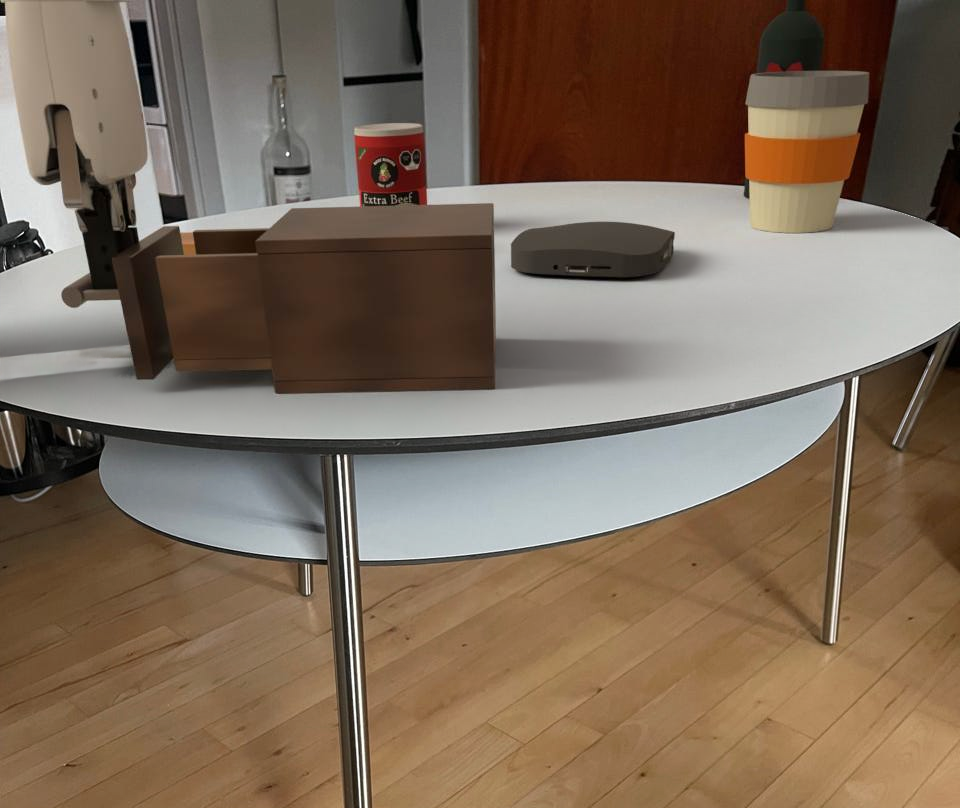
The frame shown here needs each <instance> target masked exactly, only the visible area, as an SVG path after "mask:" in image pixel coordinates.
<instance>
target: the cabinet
mask: <svg viewBox="0 0 960 808" xmlns="http://www.w3.org/2000/svg"><path fill="white" fill-rule="evenodd" d="M268 228H269V229H268V230H267V231H266V232H265V233H264V234H263V235H261V236H260V237H259V238H258V239H257V240H256V241H255V245H256V252H257V260H258V267H259V275H260V282H261V290H262V297H263V305H264V312H265V320H266V327H267V335H268V342H269V350H270V357H271V365H272V370H271V371H272V372H271V373H272V378H273V379H272V381H273V386H274V393H275V394H300V393H301V394H303V393H304V394H306V393H307V394H309V393H350V392H351V393H352V392H353V393H354V392H355V393H357V392H359V393H360V392H405V391H455V390H456V391H458V390H460V391H461V390H462V391H463V390H494V389H496V363H497V362H496V361H497V360H496V358H497V357H496V356H497V355H496V354H497V315H496V314H497V312H496V309H497V308H496V259H495V254H496V253H495V251H496V250H495V204H494V203H493V202H485V203H483V202H482V203H481V202H480V203H446V204H445V203H444V204H443V203H441V204H427V205H402V206H363V207H360V206H333V207H332V206H331V207H328V206H326V207H291V208H290V209H289V210H288V211H287V212H286V213H284V214H283V215H282V217H280V218H279V219H278V220H277V221H276V222H275V223H274V224H272V226H270V227H268Z"/></svg>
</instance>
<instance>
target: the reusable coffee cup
mask: <svg viewBox="0 0 960 808" xmlns="http://www.w3.org/2000/svg"><path fill="white" fill-rule="evenodd" d="M747 87H748V88H747V93H746V97H745V103H744V104H745V105H746V106H747V117H748V120H747V121H748V126H747V127H748V132H746V133H744V169H745V172H744V175H745V176H744V177H745V178H747V179H749V193H750V198H749V226H750V227H751V228H753V229H754V230H758V231H763V232H769V233H770V232H771V233H784V234H804V233H816V232H825V231H827V230H830V229H832V227H833V225H834V221H835V217H836V213H837V209H838V205H839V202H840V197H841V194H842V190H843V187H844V184H845V180H849V178H850V175H851V172H852V167H853V164H854V160H855V157H856V153H857V149H858V146H859V141H860V137H861V133H860V132H858V130H859V128H860V127H859V126H860V123H861V119H862V115H863V111H864V107H865V105H867V104H868V103H869V89H870V72H868V71H858V70H857V71H856V70H821V71H789V72H769V73H757V72H756V73H752V74H750V77H749V83H748V86H747Z"/></svg>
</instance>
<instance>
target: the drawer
mask: <svg viewBox="0 0 960 808" xmlns="http://www.w3.org/2000/svg"><path fill="white" fill-rule="evenodd" d="M180 228H181V227H180V226H179V225H164V226H162V227H160V228H158V229H157V230H155V231H154V232H151V233H150V234H149V235H147V236H145V237H144V238H142V239H141V240H140V239H139V242H137V243H136V244H134V245H132V246H131V247H129V248H127V249H126V250H124V251H123V252H121V253H119V254H118V255H116V256H114V257H113V258H112V261H113V266H114V271H115V276H116V281H117V286H118V289H107V290H94V289H93V286H92V281H91V276H90V272H88V273H86V274H85V275H83V276H82V277H79V278H78V279H77V280H75V281H73V282H72V283H70V284H68V285H67V286H65V287H64V288H63V289H62V290H61V294H60V295H61V300H62V302H63V303H64V304H65V305H66V306H67V307H69V308H70V309H76V308H79V307H81V306H82V305H84V304H85V303H87V302H89V301H91V302H92V301H94V302H95V301H120V305H121V306H120V307H121V310H122V315H123V320H124V325H125V329H126V335H127V340H128V345H129V349H130V354H131V359H132V364H133V369H134V373H135V378H136V380H137V381H146V380H147V381H153V380H155V379H156V378H157V377H158V376H159V375H160V374H161V373H162V372H163V371H164V370H165V369H166V367H168V365H170V363H171V362H172V361H173V365H174V370H175V372H176V373H177V372H178V373H179V372H181V373H182V372H220V371H221V372H223V371H225V372H226V371H227V372H229V371H270V370H271V371H272V365H271V357H270V350H269V342H268V335H267V327H266V320H265V312H264V305H263V297H262V290H261V282H260V275H259V267H258V260H257V252H256V245H255V241H256V240H257V239H258V238H259V237H260V236H261V235H263V234H264V233H265V232H266V231H267V230H268V229H269V228H270V227H268V228H267V227H263V228H261V227H259V228H258V227H257V228H226V229H225V228H220V229H216V228H215V229H195V230H193V231H192V232H193V238H194V244H195V250H196V255H184V252H183V246H182V240H181V234H180V233H181V229H180Z"/></svg>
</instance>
